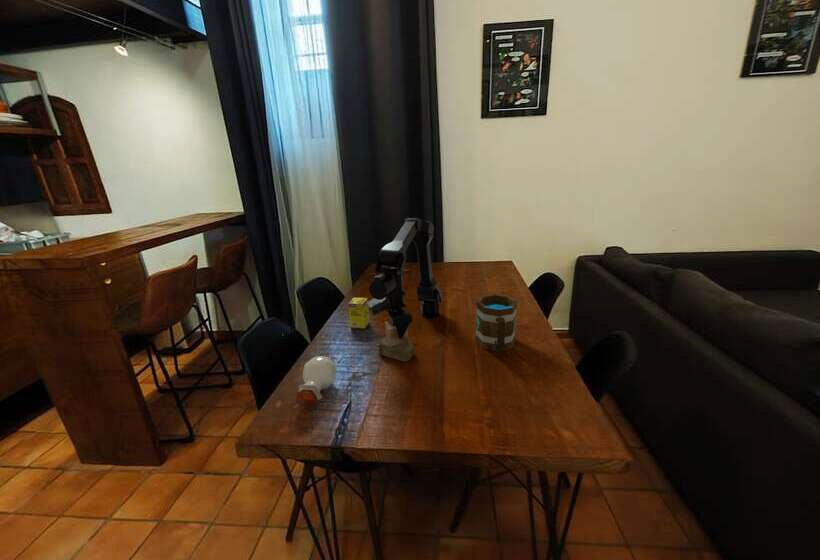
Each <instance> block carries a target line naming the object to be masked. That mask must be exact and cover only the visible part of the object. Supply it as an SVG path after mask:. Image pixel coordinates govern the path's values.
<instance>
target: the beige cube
mask: <svg viewBox="0 0 820 560" xmlns="http://www.w3.org/2000/svg"><path fill="white" fill-rule="evenodd" d="M384 326H385V337H386V338H387V340H388V342H389V344H390V346H395V345H400V344H405V343H408V341H409V329H408V328H409V327H408V328H407V330H406V332H405V334H404V336H403V338H402V339H399V337H398V333H397V330H396V326H393V325H392V323H391V322H390V320H386V321H384Z"/></svg>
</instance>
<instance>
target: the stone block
mask: <svg viewBox="0 0 820 560" xmlns="http://www.w3.org/2000/svg"><path fill="white" fill-rule="evenodd" d="M378 353H379V355H381V356H384V357H387V358H392V359H394V360H397V361H400V362H403V363H406V362H408V361H410V360H411V359H412V358H413V357H414V355H415V353H416V352H415V346H414V342H413V341H409V340H408V343H405V344H400V345H395V346H390V344H389V342H388V340H387V338H386V336H384V338H382V339H381V340H380V341H379V344H378Z"/></svg>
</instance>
